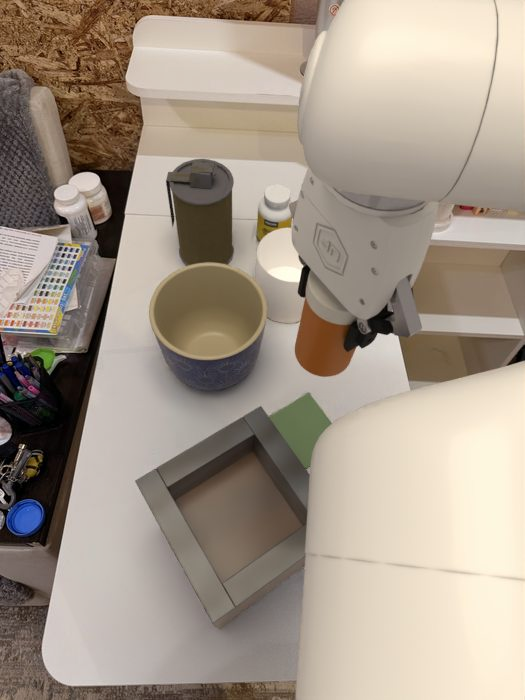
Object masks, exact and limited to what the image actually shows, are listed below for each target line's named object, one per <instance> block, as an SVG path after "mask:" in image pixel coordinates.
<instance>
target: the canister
mask: <svg viewBox="0 0 525 700" xmlns="http://www.w3.org/2000/svg"><path fill="white" fill-rule="evenodd" d="M234 184H235V181H234V176H233V174H232V172H231V170H230V169H229V168H228V167H227V166H226V165H224V164H223V163H221V162H219V161H217V160H214V159H213V160H212V159H207V158H194V159H191V160H187V161H184V162H181V164H179V165H178V166H177V167H175V168H174V170H172V171H168V172H167V175H166V179H165V185H166V192H167V199H168V205H169V213H170V219H171V225H172V228H174V225H175V224H176V231H177V239H178V254H179V258H180V259H181V261H182V263H183V264H184V265H185V267H186V266H188V265H192V264H197V263H205V262H213V263H222V264H226V265H229V264H230V262H231V260H232V259H233V256H234V249H235V247H234V245H233V188H234Z"/></svg>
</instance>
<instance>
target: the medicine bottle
mask: <svg viewBox="0 0 525 700" xmlns="http://www.w3.org/2000/svg"><path fill="white" fill-rule="evenodd" d="M356 320H357V317H356V316H354V315H353V314H352V313H350V312H349V311H348V310H347V309H346V308H345V307H344V306H343V305H342V304H341V302H340V301H339V300H338V299H337V298H336V297H335V296H334V295H333V294H332V292H331V291H330V290H329V289H328V288H327V287H326V286H325V285H324V283H323V282H322V281H321V280H320V279H319V278H318V277H317V275H316V274H315V273H314V272H313V271H312V270H310V272H309V276H308V281H307V286H306V296H305V301H304V306H303V310H302V315H301V320H300V321H299V325H298V329H297V334H296V339H295V344H294V355H295V358H296V361H297V362H298V364H299V365H300V366H301V368H303V369H304V370H305V371H306V372H307V373H309V374H311V375H313V376H316V377H323V378H327V377H328V378H329V377H334V376H338V375H340V374H341V373H343V372H344V371H345V370H346V369H347V368H348V367H349V365H350V363H351V361H352V359H353V357H354V354H355V352H356V350H357V347H356V348H354V349H352V350H351V351H349V352H347V351H346V350H345V349H344V348H343V347H344V345H343V343H344V341H345V338H346V335H347V333H348V330H349V327H350V325H351V324H352V323H353V322H355V321H356Z"/></svg>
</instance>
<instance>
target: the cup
mask: <svg viewBox="0 0 525 700" xmlns="http://www.w3.org/2000/svg"><path fill="white" fill-rule="evenodd" d="M298 255H299V254H298V253H297V251H296V250H295V248H294V246H293V243H292V227H291V228H281V229H278V230H274V231H272V232H270V233H268V234H267V235H266V236H265V237H263V238H262V240H261V241H260V242H258V245H257V247H256V254H255V256H256V257H255V266H254V267H255V269H254V280H255V281H256V282H257V284H258V285H259V286H260V288H261V289H262V291H263V293H264V295H265V298H266V302H267V310H268V312H267V319H268V320H271V321H273V322H277V323H281V324H295V323H298V322H299V323H300V320H301V315H302V310H303V306H304V301H305V298H303V297H300V295H299V294H298V287H299V282H300V276H301V271H302V268H303V265H302V264H301V262H300V261H299V257H298Z"/></svg>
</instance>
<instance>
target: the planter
mask: <svg viewBox="0 0 525 700" xmlns="http://www.w3.org/2000/svg"><path fill="white" fill-rule="evenodd" d="M149 301H150V302H149V306H148V318H149V324H150V326H151V329H152V332H153V335H154V337H155V339H156V341H157V344H158V346H159V349H160V352H161V354H162V356H163V359H164V362H165V363H166V365H167V367H168V368H169V370H170V371H171V372H172V374H173V375H174V376H175V377H176V378H178V379H179V380H180V381H182V382H183V383H184V384H185V385H188V386H190V387H192V388H195V389H199V390H204V391H217V390H223V389H225V388H229V387H231V386H233V385H235V384H237V383H238V382H240V381H241V380H243V379H244V378H245V377H246V376H247V375H248V373H249V372H250V371H251V370H252V368H253V367H254V365H255V363H256V362H257V359H258V357H259V353H260V349H261V345H262V341H263V336H264V333H265V328H266V323H267V320H268V318H267V312H268V310H267V302H266V298H265V295H264V293H263V291H262V289H261V288H260V286H259V285H258V284H257V282H256V281H255V278H253V277H252V276H251V275H249V274H248V273H246V271H244V270H241V269H240V268H237V267H236V266H233V265H230V264H227V265H226V264H222V263H213V262H205V263H197V264H192V265H188V266H186V265H185V266H183V267H180V268H178V269H177V270H174V271H173V272H172V273H170V274H168V275H167V276H166V277H165V278H164V279H163V280H162V281H161V282H160V283H159V284H158V285H157V287H156V288H155V290H154V291H153V294H152V296H151V299H150V300H149Z"/></svg>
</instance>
